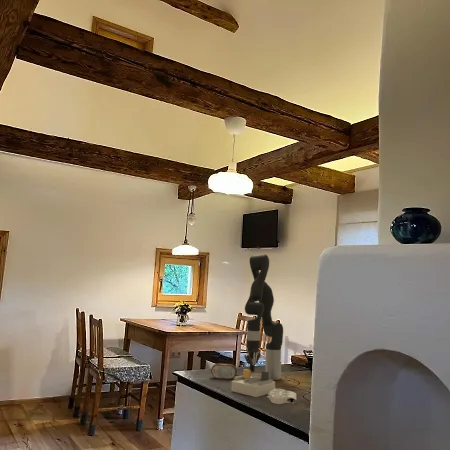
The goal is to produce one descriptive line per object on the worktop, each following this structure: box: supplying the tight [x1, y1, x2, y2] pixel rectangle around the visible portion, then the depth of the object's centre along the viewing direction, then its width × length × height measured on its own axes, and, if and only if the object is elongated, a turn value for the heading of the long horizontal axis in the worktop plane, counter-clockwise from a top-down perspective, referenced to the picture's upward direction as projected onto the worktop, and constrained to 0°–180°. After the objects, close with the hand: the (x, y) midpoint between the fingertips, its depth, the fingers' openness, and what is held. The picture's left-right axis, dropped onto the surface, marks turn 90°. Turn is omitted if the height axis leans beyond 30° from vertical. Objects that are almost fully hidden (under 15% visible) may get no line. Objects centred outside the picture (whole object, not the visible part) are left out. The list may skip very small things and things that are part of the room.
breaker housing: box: [230, 375, 276, 398], centre depth 235 cm, size 17×16×6 cm
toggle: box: [260, 370, 270, 381], centre depth 236 cm, size 3×4×5 cm
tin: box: [210, 362, 238, 380], centre depth 262 cm, size 15×3×8 cm, turn 84°
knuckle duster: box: [266, 388, 297, 405], centre depth 222 cm, size 3×18×15 cm
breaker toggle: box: [242, 368, 252, 379], centre depth 239 cm, size 3×4×5 cm
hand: (252, 371), depth 242 cm, fingers closed
